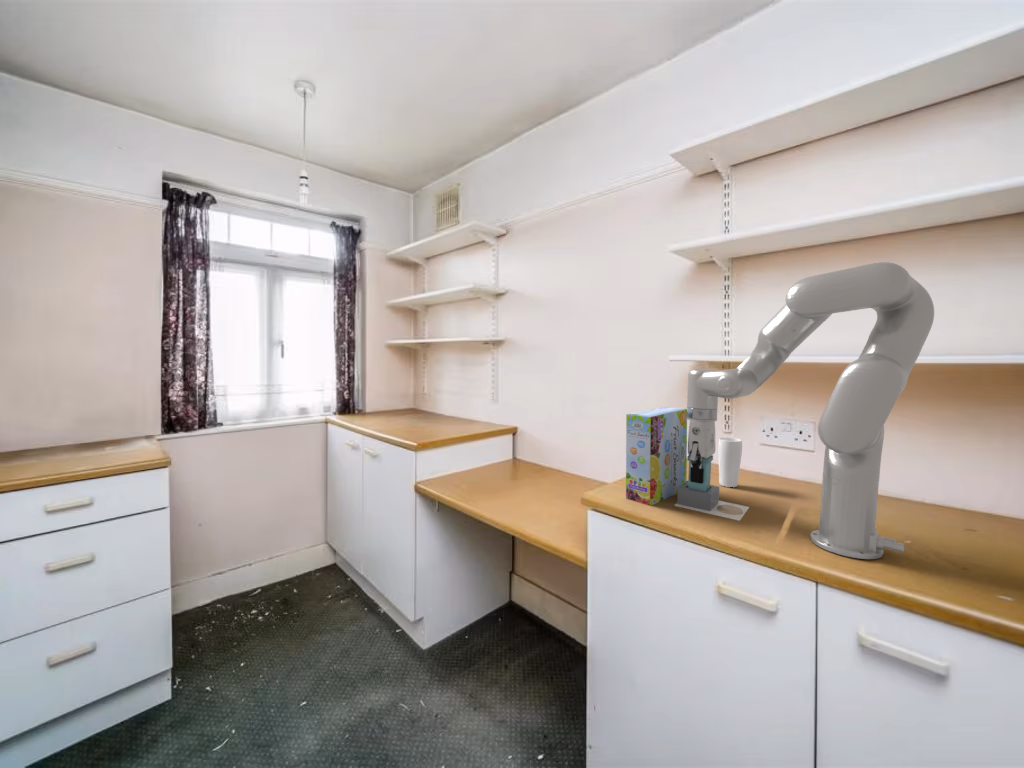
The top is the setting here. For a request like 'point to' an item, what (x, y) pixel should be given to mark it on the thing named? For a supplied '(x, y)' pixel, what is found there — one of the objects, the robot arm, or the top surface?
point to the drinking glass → (729, 461)
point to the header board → (708, 502)
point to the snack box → (655, 454)
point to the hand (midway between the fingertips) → (699, 479)
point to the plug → (706, 478)
